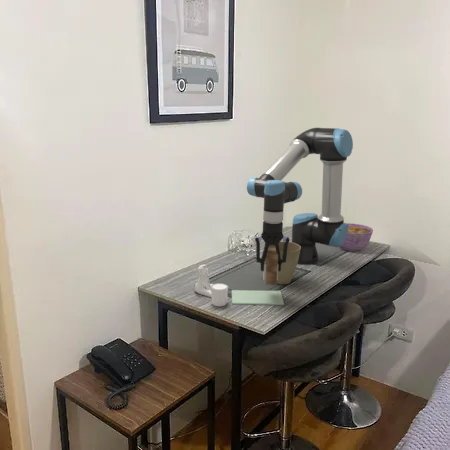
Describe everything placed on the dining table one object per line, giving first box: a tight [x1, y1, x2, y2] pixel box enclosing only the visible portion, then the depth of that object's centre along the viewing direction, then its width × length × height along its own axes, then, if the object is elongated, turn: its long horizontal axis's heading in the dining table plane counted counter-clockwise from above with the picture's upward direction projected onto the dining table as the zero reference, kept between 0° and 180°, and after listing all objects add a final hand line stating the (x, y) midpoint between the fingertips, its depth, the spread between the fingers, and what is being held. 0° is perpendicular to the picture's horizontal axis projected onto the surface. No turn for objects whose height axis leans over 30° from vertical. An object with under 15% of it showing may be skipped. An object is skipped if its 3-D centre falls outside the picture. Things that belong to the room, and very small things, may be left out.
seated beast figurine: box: [194, 264, 214, 298], centre depth 184 cm, size 10×9×12 cm
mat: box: [231, 289, 285, 306], centre depth 181 cm, size 20×12×1 cm, turn 90°
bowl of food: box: [339, 222, 374, 252], centre depth 241 cm, size 20×20×12 cm
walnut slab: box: [264, 248, 278, 286], centre depth 177 cm, size 4×9×12 cm, turn 0°
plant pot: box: [269, 240, 301, 285], centre depth 197 cm, size 15×15×16 cm
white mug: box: [210, 282, 229, 307], centre depth 175 cm, size 7×7×7 cm
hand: (270, 278), depth 179 cm, fingers closed on walnut slab, 4 cm apart
